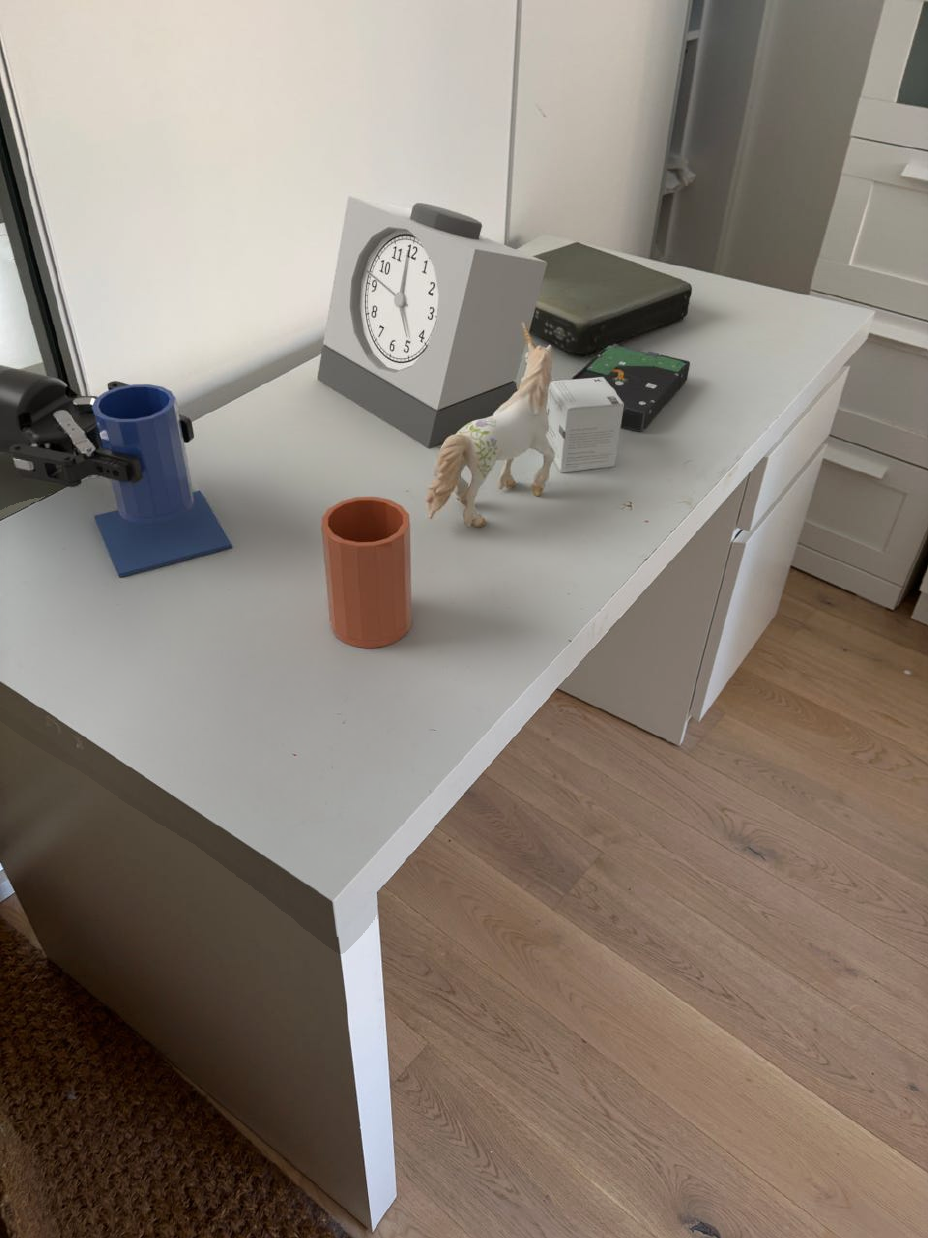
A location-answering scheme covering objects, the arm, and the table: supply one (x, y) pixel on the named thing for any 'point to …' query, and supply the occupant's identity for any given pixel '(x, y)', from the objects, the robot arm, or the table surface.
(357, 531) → the terracotta cup
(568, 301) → the network switch
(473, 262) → the alarm clock
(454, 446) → the unicorn figurine
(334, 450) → the table surface
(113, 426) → the blue cup
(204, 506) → the blue mat
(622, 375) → the disk drive
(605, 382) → the product carton
